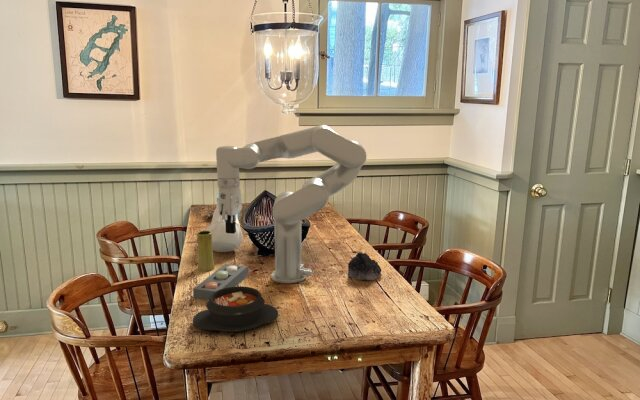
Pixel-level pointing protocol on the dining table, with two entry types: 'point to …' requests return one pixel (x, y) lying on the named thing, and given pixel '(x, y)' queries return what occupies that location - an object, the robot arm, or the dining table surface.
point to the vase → (205, 251)
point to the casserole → (235, 310)
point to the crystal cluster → (363, 267)
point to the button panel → (220, 281)
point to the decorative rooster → (224, 234)
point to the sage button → (222, 275)
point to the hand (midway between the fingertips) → (230, 232)
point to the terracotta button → (211, 285)
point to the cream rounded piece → (231, 268)
